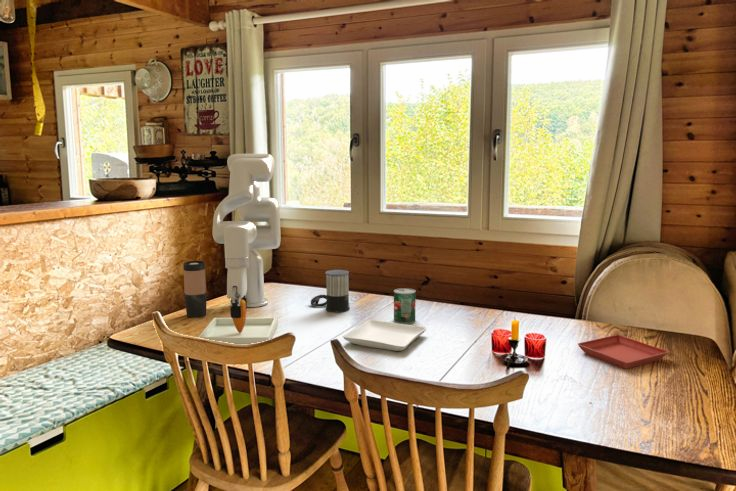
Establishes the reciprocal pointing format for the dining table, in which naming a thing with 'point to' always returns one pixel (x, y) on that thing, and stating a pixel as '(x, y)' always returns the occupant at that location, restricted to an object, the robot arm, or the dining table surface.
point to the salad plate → (384, 335)
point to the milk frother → (335, 292)
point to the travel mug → (195, 288)
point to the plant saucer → (622, 351)
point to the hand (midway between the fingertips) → (239, 313)
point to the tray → (251, 333)
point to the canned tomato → (404, 305)
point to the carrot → (240, 322)
